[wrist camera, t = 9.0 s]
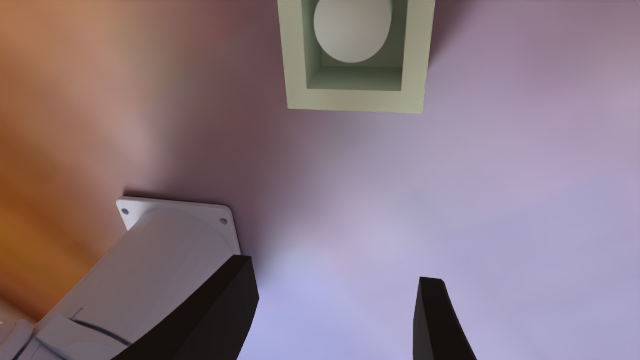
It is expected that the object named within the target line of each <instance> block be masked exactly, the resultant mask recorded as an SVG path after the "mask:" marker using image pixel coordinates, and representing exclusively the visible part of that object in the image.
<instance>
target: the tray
mask: <svg viewBox="0 0 640 360" xmlns="http://www.w3.org/2000/svg"><path fill="white" fill-rule="evenodd" d="M277 3H278V14H279V24H280V34H281V45H282V55H283V66H284V76H285V86H286V97H287V107H288V109H310V110H338V111H365V112H393V113H420V114H422V111H423V102H424V93H425V85H426V76H427V67H428V59H429V50H430V42H431V33H432V24H433V16H434V7H435V0H277Z"/></svg>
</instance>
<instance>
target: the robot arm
mask: <svg viewBox="0 0 640 360" xmlns="http://www.w3.org/2000/svg"><path fill="white" fill-rule="evenodd" d="M116 204H117V207H118V209H119V211H120V214H121V216H122V218H123V221H124V223H125V225H126V228H127V230H128V231H127V232H126V233H125V234H124V235H123V236H122V237H121V238H120V239H119V240H118V241H117V242H116V243H115V244H114V245H113V247H112V248H111V249H110V250H109V251H108V252H107V253H106V254H105V255H104V256H103V257H102V258H101V259H100V260H99V261H98V262H97V263H96V264H95V265H94V266H93V267H92V268H91V269H90V270H89V271H88V272H87V273H86V274H85V275H84V276H83V277H82V278H81V279H80V280H79V282H78V283H77V284H76V285H75V286H74V287H73V288H72V289H71V290H70V291H69V292H68V293H67V294H66V295H65V296H64V297H63V298H62V299H61V300H60V301H59V302H58V303H57V304H56V305H55V306H54V307H53V308H52V309H51V310H50V311H49V312H48V313H47V314H46V315H45V317H44V318H43V319H42V320H41V321H40V322H38V323H36V324H34V325H32V324H30V323H29V322H28V321H26V320H23V319H21V320H17V321H15V322H9V323H3V324H0V360H237V357H238V355H239V353H240V351H241V348H242V346H243V344H244V341H245V339H246V337H247V334H248V332H249V330H250V327H251V324H252V321H253V318H254V315H255V311H256V308H257V304H258V301H259V294H258V289H257V284H256V279H255V274H254V269H253V264H252V259H251V256H243V255H241V253H240V248H239V244H238V239H237V235H236V230H235V225H234V221H233V216H232V212H231V210H230V209H229V208H228V207H227V206H224V205H215V204H204V203H193V202H182V201H171V200H161V199H150V198H139V197H128V196H121V197H120V198H118V199H117V200H116ZM223 218H224V219H226V220H227V221H226V220H224V219H223ZM413 360H477V359H476V357H475V355H474V353H473V351H472V349H471V346H470V344H469V342H468V340H467V338H466V336H465V334H464V332H463V330H462V327H461V325H460V323H459V321H458V318H457V316H456V314H455V311H454V309H453V306H452V304H451V301H450V298H449V295H448V292H447V289H446V286H445V283H444V281H443V280H442V279H436V278H428V277H420V279H419V285H418V292H417V299H416V305H415V312H414V319H413Z"/></svg>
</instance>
